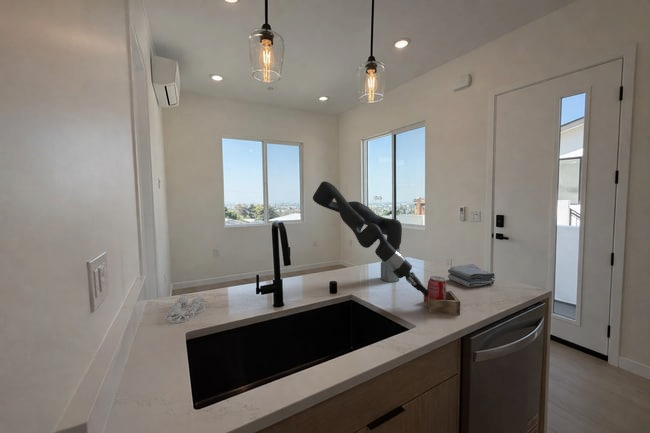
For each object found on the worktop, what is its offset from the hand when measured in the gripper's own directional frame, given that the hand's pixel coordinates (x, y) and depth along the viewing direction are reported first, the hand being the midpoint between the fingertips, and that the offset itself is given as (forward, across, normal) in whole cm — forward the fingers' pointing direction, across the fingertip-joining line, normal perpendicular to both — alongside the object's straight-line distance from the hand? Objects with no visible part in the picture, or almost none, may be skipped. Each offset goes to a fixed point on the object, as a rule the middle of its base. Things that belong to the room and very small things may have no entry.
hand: (427, 294), depth 113 cm
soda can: (+6, 0, -2) cm, 6 cm away
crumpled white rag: (-63, +19, -72) cm, 98 cm away
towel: (+24, -38, +17) cm, 48 cm away
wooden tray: (+7, 0, 0) cm, 7 cm away
